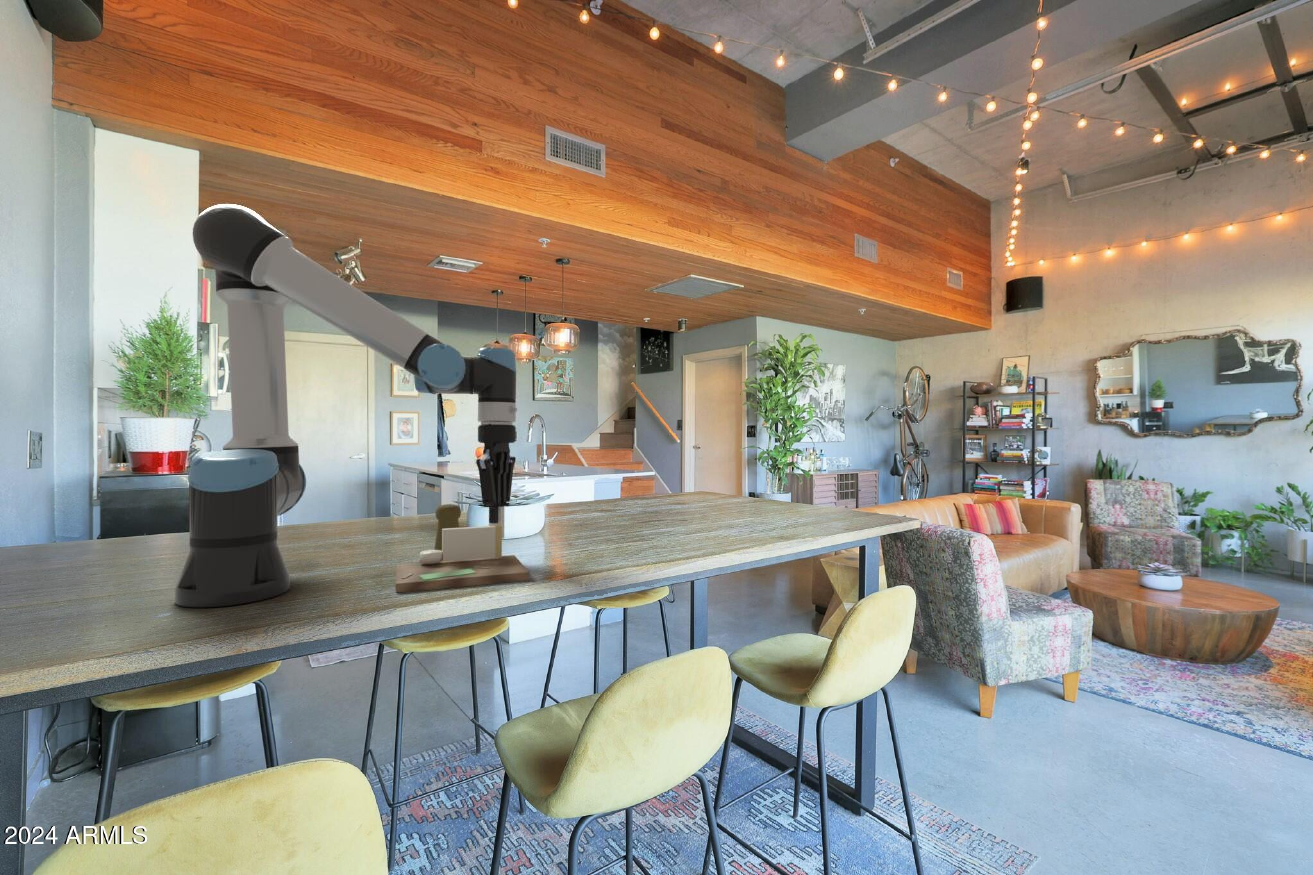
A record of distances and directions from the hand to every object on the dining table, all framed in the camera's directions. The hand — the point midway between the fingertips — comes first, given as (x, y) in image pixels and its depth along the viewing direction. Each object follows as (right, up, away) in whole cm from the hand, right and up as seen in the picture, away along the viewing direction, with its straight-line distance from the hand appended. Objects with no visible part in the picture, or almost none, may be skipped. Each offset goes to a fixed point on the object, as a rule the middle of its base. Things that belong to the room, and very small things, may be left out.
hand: (496, 538), depth 121 cm
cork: (-12, -5, +6) cm, 15 cm away
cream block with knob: (-5, -3, -7) cm, 9 cm away
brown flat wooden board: (-3, -5, -12) cm, 13 cm away
